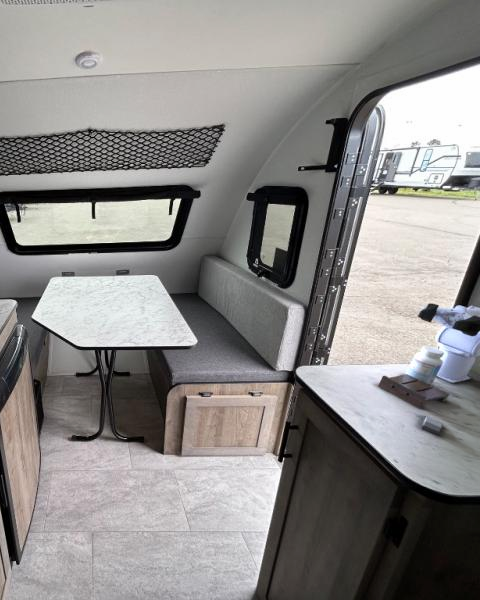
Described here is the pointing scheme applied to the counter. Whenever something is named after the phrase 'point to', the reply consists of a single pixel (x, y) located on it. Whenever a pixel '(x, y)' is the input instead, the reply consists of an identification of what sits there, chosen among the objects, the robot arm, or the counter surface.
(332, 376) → the counter surface
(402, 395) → the brown slab
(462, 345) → the robot arm
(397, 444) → the counter surface
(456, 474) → the counter surface
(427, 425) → the grey faceted block
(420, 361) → the pill bottle
